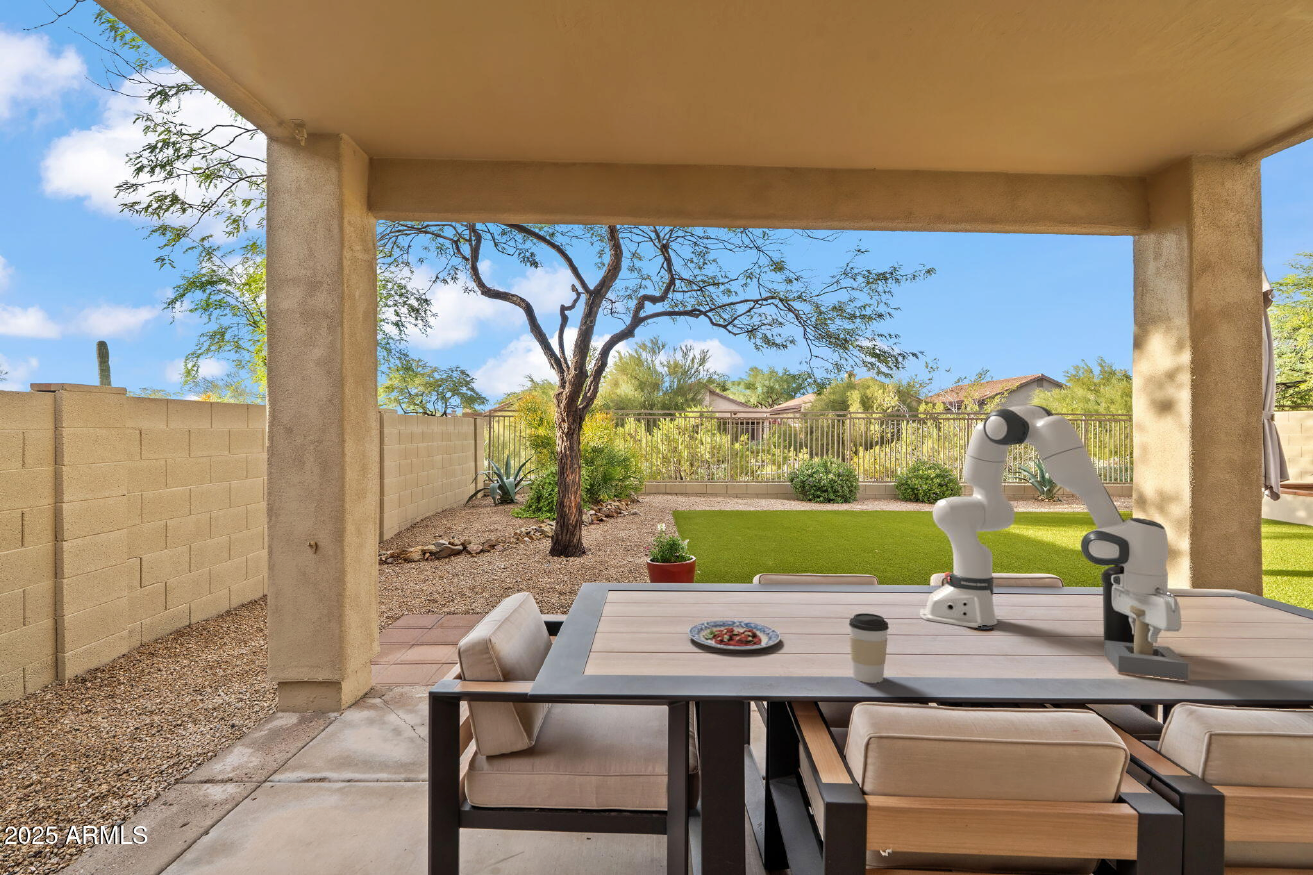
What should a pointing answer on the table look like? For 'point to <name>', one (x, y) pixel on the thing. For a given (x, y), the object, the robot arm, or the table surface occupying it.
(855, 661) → the coffee cup
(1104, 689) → the table surface
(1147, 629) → the handle
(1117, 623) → the water bottle
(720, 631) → the ceramic plate
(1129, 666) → the socket block
